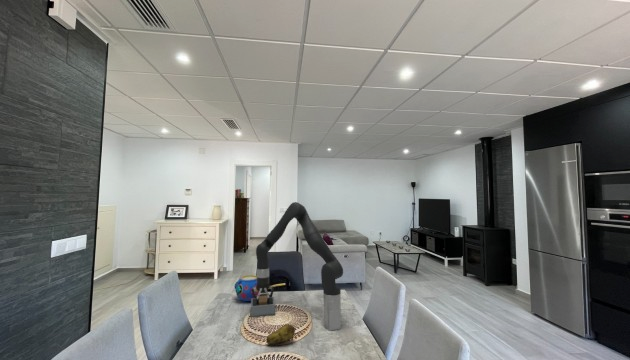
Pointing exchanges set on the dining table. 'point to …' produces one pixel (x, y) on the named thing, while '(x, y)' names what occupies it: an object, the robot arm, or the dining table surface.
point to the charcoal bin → (262, 308)
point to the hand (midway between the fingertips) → (262, 304)
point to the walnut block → (263, 299)
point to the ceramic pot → (246, 287)
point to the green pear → (281, 334)
